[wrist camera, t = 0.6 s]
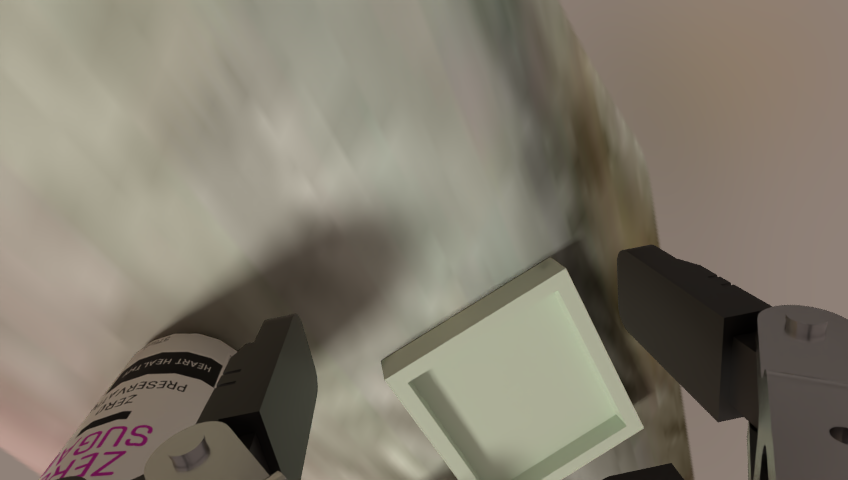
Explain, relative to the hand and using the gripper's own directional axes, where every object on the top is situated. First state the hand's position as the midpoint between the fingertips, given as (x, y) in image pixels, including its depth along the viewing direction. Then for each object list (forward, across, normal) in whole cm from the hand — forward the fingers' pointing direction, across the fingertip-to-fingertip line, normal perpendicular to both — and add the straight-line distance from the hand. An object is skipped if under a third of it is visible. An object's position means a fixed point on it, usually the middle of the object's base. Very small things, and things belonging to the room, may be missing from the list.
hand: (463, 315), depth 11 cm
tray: (+21, -5, +19) cm, 29 cm away
